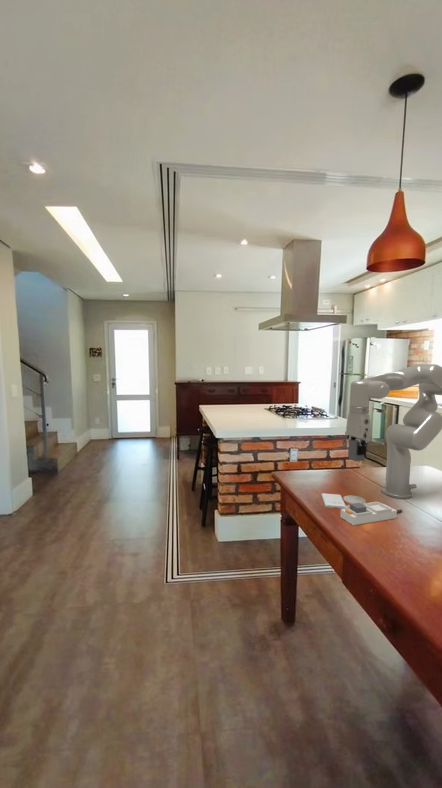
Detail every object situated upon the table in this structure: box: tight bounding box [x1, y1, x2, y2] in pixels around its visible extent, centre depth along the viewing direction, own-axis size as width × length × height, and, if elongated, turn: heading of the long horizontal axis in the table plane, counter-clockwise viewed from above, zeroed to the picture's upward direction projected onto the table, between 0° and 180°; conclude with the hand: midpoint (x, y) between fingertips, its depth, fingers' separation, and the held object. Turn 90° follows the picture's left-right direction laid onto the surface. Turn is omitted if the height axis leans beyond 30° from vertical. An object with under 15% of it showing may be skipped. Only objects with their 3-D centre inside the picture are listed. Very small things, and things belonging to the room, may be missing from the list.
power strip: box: [339, 501, 403, 526], centre depth 129 cm, size 26×7×5 cm, turn 108°
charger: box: [347, 438, 365, 462], centre depth 142 cm, size 4×4×8 cm
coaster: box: [342, 494, 367, 505], centre depth 145 cm, size 9×9×1 cm
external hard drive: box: [321, 492, 347, 509], centre depth 143 cm, size 2×8×12 cm
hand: (356, 452), depth 143 cm, fingers closed on charger, 4 cm apart
